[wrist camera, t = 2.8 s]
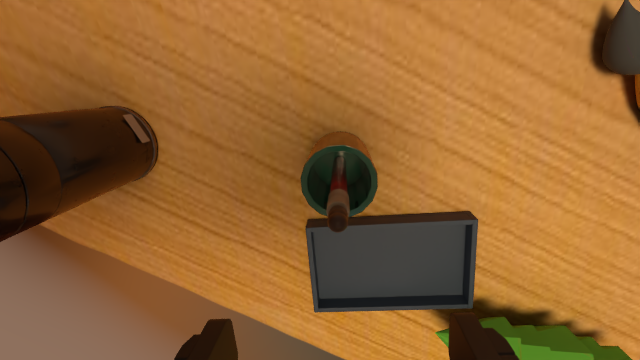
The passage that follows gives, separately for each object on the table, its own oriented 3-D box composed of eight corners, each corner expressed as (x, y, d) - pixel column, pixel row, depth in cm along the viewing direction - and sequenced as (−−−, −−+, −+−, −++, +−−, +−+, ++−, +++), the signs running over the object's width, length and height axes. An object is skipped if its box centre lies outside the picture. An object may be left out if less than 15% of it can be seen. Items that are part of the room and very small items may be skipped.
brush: (332, 170, 38) (325, 238, 21) (331, 156, 38) (323, 215, 21) (347, 169, 38) (351, 237, 21) (346, 155, 38) (349, 213, 21)
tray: (315, 299, 45) (314, 312, 42) (307, 219, 41) (305, 227, 39) (465, 295, 43) (472, 308, 40) (469, 211, 40) (478, 219, 37)
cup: (312, 191, 40) (304, 219, 32) (307, 133, 38) (297, 148, 30) (370, 187, 40) (378, 216, 31) (368, 129, 38) (376, 142, 29)
